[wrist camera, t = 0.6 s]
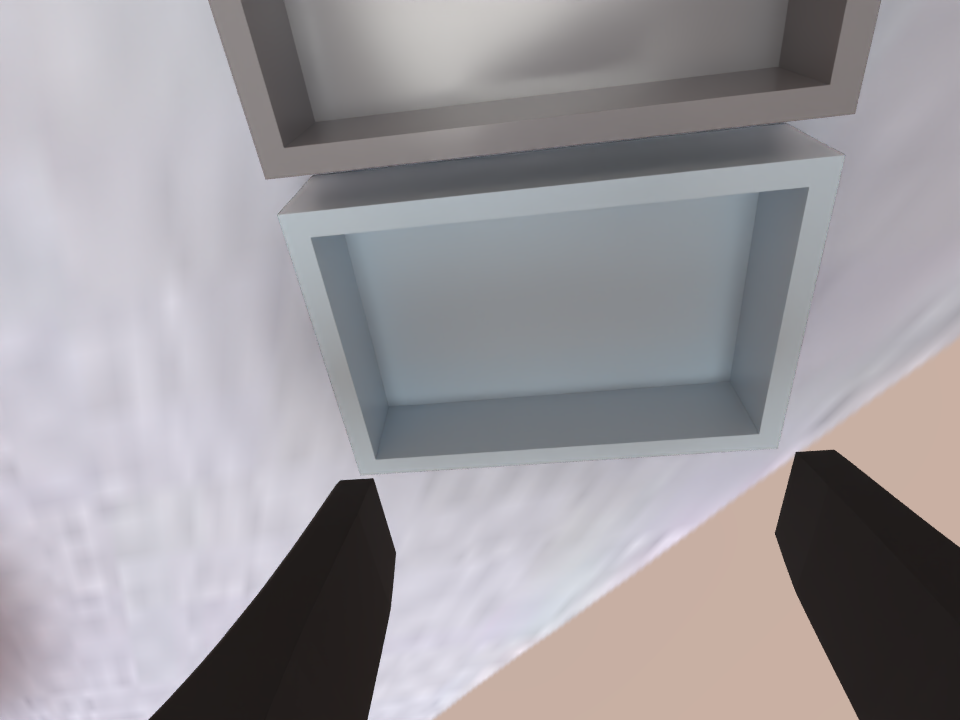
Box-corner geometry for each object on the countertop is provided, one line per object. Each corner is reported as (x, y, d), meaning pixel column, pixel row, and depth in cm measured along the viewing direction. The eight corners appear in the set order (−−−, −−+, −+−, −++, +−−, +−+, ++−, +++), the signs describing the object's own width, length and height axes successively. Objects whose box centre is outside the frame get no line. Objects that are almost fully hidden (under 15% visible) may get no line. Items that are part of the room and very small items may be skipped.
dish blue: (785, 122, 14) (845, 154, 12) (741, 385, 19) (777, 448, 16) (312, 175, 15) (277, 215, 13) (377, 412, 20) (360, 475, 18)
